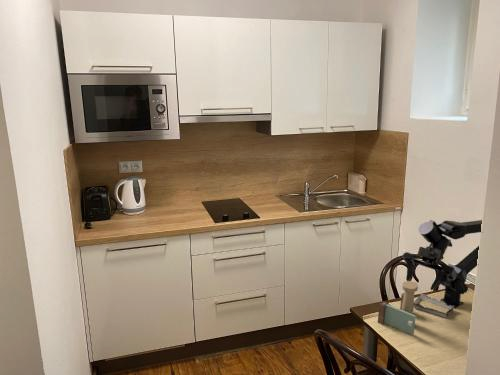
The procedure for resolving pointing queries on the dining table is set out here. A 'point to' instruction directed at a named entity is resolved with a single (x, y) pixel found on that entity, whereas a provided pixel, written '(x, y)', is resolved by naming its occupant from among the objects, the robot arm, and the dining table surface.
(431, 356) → the dining table surface
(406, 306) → the handle
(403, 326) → the door
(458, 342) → the dining table surface
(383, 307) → the door frame
